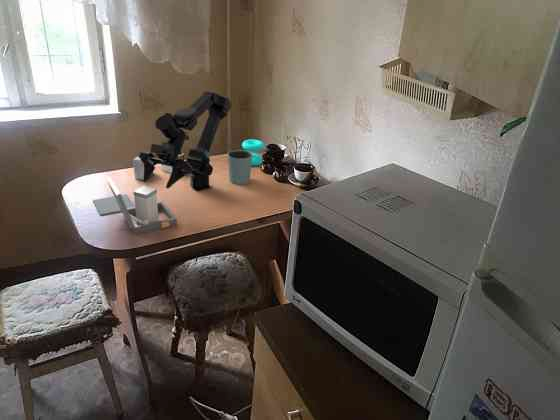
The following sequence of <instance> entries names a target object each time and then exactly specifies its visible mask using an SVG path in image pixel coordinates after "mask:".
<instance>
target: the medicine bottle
mask: <svg viewBox="0 0 560 420" xmlns="http://www.w3.org/2000/svg"><path fill="white" fill-rule="evenodd" d="M177 159H179V160H183V161H185V154H184V153H182V154H181V155H178V157H177ZM177 159H176V160H177ZM160 169H161V170H162V171H164V172H167V173H170V174H172V167H170V166H166V165H162V164H160Z"/></svg>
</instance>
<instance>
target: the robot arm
mask: <svg viewBox="0 0 560 420" xmlns="http://www.w3.org/2000/svg"><path fill="white" fill-rule="evenodd" d="M231 108H232V102H231V100H230V99H229V98H228V97H224V96H222V95H220V94H218V93H216V92H215V91H209V90H207V91H204V92H203V93H202V95H200V97H198V98H197V99H196V100H195V101H194V102H193V103H191V105H190V106H188V107H186V108H185V107H184V108H182V109H181V108H180V109H179V110H177V111H176V112H175V113H174V114H172V113H171V112H164V114H163V115H161V116H159V117H158V118H157V119H156V120H155V123H154V126H155V128H156V129H157V130H158V131H159V132H160V133H161V134H162V136H163V137H165V138H166V140H165V142H164V141H162V142H161V144H156V143H153V142H151V145H150V150H149V151H145V150H143V151H140V152H139V155H138V156H137V157H139V158H140V159H141V161H142V162H143V164H144V178H143V180H142V181H143V183H147V182H148V180H149V179H150V177H151V176H152V175H153V174H154V171H155V169H156V165H157V164H159V165H161V164H162V165H166V166H170V167H172V173H170V176H169V178H168V180H167V184H166V185H165V189H167V190H169V189H170V188H171V187H172V186H173V185H175V184H176V183H177V182H178V181H179V180H181V179H182V178H184V177H187V175H188V176H189V177H190V178H189V180H190V183H189V186H190V187H192V189H193V190H195V191H196V192H197V191H202V190H209V189H211V188H212V187H211V186H210V176H212V173H213V171H214V167H213V165H211V163H210V162H211V161H210V160H211V159H210V154H209V152H210V149H211V147H212V143H213V142H214V138H215V136H216V133H217V130H218V128H219V125H220V123H221V121H222V120H223V119H225V117H227V115H228V114H229V112H230V110H231ZM206 111H208V116H207V119H206V121H205V124H204V127H203V130H202V132H201V135H200V138H199V140H198V143H197V145H196V147H195V148H193V149H189V151H188V154H187V156H186V160H184V161H183V160H179V159H177V157H178V155H181V154H183V152H182V151H181V150H182V148H183V146H184V143H185V141H189V140H190V137H189V134H188V132H186V131H193V130H194V129H195V127H196V126H197V125H198V120H199V118H200V117H201V116H202V115H203V114H204V113H205V112H206ZM184 130H185V131H184ZM153 153H154V154H155V155H156V156H155V155H154V154H153ZM176 159H177V160H176ZM152 173H153V174H152Z"/></svg>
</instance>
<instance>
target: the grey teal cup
mask: <svg viewBox="0 0 560 420" xmlns="http://www.w3.org/2000/svg"><path fill="white" fill-rule="evenodd" d="M252 153H253V152H250V151H247V150H245V149H234V150H230V151H229V152H227V163H228V164H227V165H228V177H229V182H230V183H231V184H232V185H237V186H243V185H244V184H245V185H247V184H249V183H250V181H251V172H252V166H251V164H252V156H253V155H252Z"/></svg>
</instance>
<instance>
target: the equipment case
mask: <svg viewBox="0 0 560 420" xmlns="http://www.w3.org/2000/svg"><path fill="white" fill-rule="evenodd" d="M105 179H106V181H107V184H108V185H109V188H110V190H111V192H112V195H113V196H114V197H115V199H116V201H117V203H118V205H119V208H120V210H121V211H122V212H121V213H122V215H123V217H124V218H125V220H126V222H127V224H128V225H129V227H130V229H131V230H132V232H133V234H134V235H138V234H143V233H148V232H154V231H156V230H160V229H161V230H162V229H166V228H170V227H174V226H177V225H178V223H177V221H178V220H177V219H178V218H177V217H175V215H174V214H173V212H172V211H171V210H170V208H168V206H167V205H166V203H165V202H164V201H157V207H158V211H160V210H161V211H162V212H163V214H165V216H166V217H167V219H166V218H165V219H161V220H159V221H156V222H151V223H148V219H147V220H144V222H143V221H141V220H139V219H137V218H136V209H135V207H131V208H127V207H126V205H125V203H124V201H123V198H122V196H121V195H122V194H121V193H120V191H119V189H118V188H117V186H116V184H115V183H114V181H113V180H112V178H111V177H110V176H107V177H105ZM135 221H136V222H137V221H138V222H140V223H142V225H140V224H137V223H136V222H135Z"/></svg>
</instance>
